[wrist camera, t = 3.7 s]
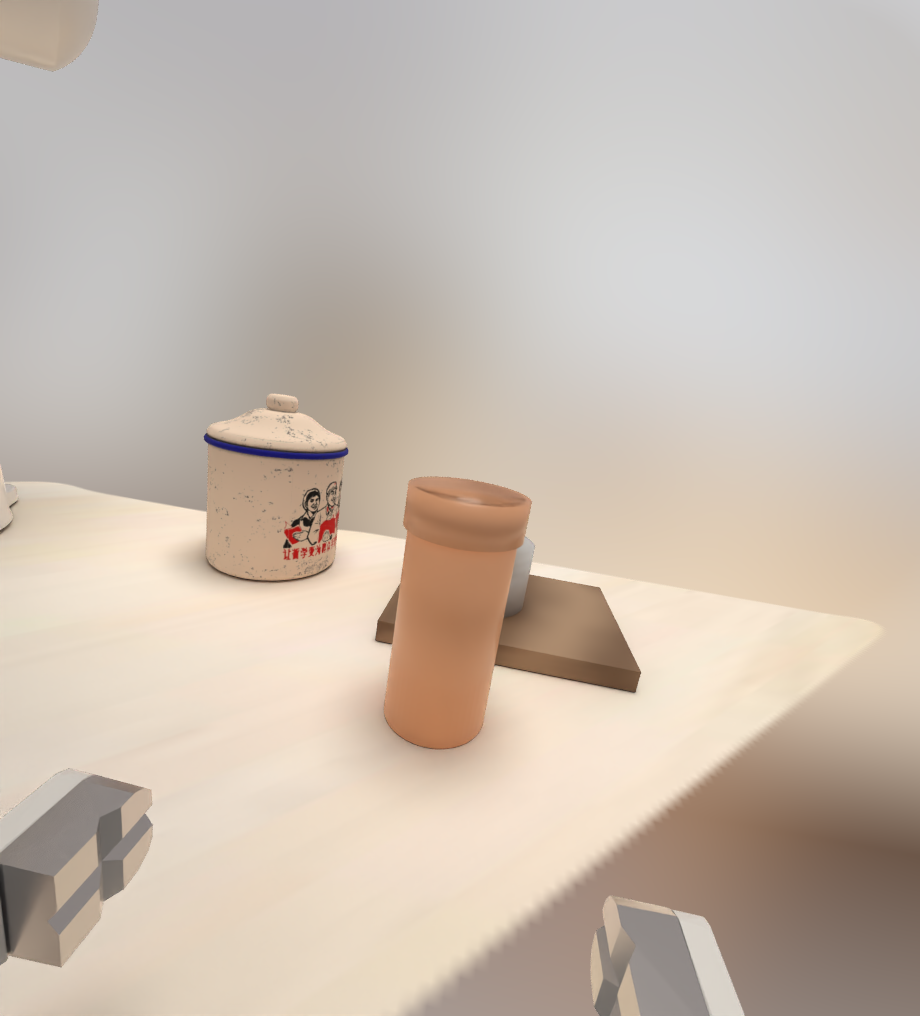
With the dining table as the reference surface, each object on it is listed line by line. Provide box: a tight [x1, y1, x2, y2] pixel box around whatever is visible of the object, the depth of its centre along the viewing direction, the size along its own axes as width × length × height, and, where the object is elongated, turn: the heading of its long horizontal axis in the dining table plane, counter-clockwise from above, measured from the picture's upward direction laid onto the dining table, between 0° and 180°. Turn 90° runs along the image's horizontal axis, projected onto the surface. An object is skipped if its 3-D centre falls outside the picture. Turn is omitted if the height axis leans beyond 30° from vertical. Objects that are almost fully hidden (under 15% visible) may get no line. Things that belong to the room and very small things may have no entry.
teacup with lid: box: [204, 394, 348, 581], centre depth 33 cm, size 12×9×12 cm
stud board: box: [376, 537, 641, 692], centre depth 29 cm, size 14×11×5 cm
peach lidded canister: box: [384, 477, 532, 749], centre depth 19 cm, size 5×5×10 cm
